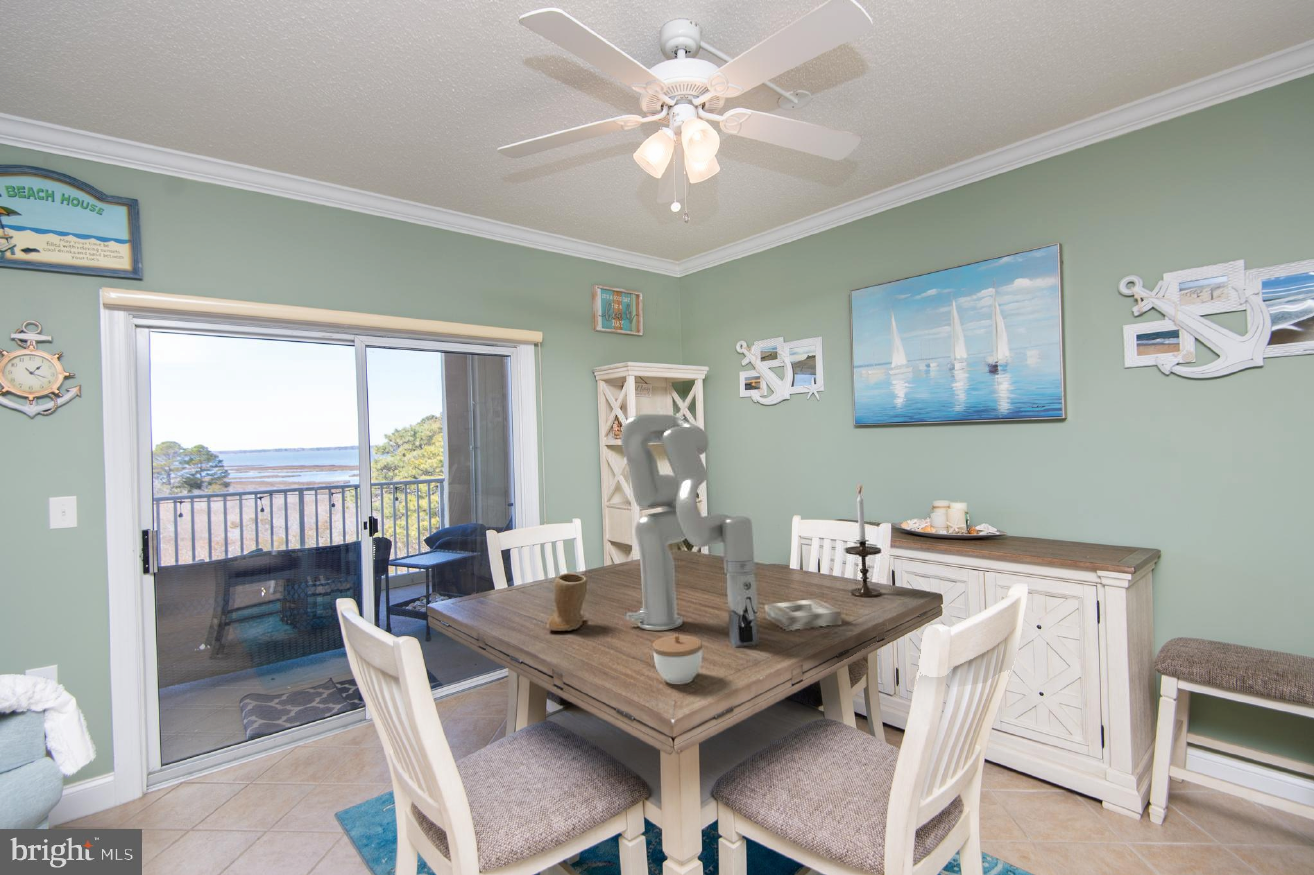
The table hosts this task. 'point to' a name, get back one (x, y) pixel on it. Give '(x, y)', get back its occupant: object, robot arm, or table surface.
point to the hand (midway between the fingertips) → (743, 638)
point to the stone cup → (568, 602)
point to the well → (802, 614)
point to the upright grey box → (734, 629)
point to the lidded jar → (678, 658)
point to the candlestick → (863, 554)
